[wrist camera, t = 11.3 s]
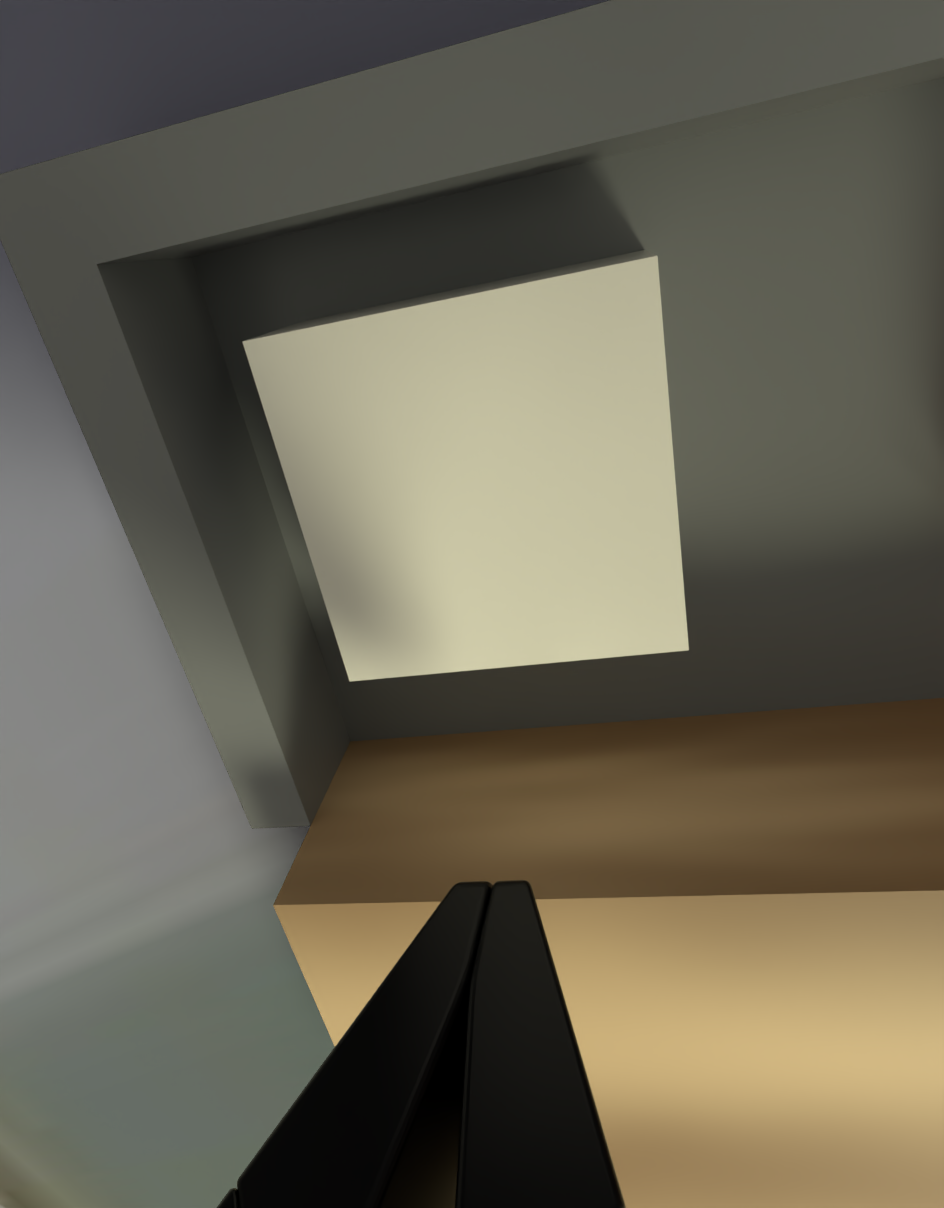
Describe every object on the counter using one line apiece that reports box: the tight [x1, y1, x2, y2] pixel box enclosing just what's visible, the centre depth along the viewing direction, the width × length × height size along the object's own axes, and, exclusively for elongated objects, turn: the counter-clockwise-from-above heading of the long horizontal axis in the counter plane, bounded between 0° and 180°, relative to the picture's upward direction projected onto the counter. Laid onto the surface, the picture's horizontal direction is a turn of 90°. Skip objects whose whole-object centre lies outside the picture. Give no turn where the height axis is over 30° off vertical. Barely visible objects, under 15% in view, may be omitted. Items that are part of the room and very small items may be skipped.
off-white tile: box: [242, 250, 689, 681], centre depth 9 cm, size 4×4×2 cm
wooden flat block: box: [273, 698, 944, 1208], centre depth 13 cm, size 12×16×4 cm
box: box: [0, 0, 944, 829], centre depth 9 cm, size 9×18×2 cm, turn 101°
